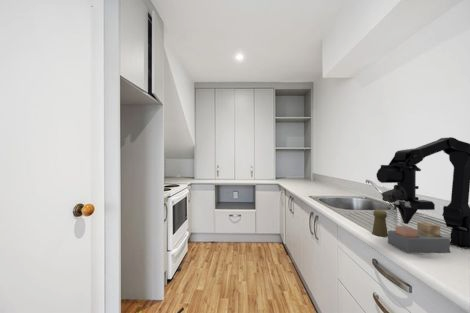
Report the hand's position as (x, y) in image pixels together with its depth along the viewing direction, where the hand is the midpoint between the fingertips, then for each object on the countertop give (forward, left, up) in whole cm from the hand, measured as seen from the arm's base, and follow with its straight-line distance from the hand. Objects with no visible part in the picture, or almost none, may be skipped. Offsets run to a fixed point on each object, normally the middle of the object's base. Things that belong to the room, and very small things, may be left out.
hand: (405, 223), depth 89 cm
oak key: (-9, 0, -6) cm, 11 cm away
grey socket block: (-5, 0, -9) cm, 10 cm away
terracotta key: (0, 0, -7) cm, 7 cm away
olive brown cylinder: (-1, -16, -9) cm, 18 cm away
